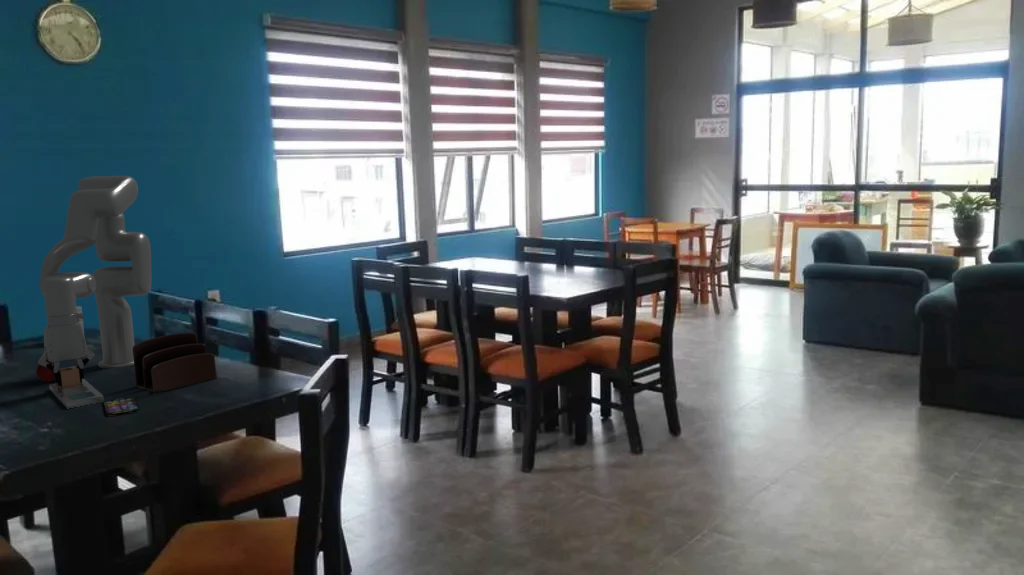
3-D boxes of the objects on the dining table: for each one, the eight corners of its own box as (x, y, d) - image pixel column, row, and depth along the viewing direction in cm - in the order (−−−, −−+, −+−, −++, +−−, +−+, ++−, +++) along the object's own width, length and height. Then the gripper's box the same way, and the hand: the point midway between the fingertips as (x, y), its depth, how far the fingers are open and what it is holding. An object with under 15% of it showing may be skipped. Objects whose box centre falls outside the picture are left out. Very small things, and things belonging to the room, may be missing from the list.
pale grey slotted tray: (84, 385, 241) (83, 378, 241) (104, 403, 222) (103, 395, 222) (50, 391, 236) (49, 384, 235) (67, 409, 217) (66, 402, 217)
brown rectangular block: (77, 386, 238) (75, 365, 237) (80, 389, 234) (78, 368, 233) (60, 389, 235) (57, 368, 234) (63, 392, 232) (60, 371, 231)
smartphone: (134, 396, 226) (139, 410, 213) (135, 399, 227) (140, 413, 214) (103, 400, 223) (106, 415, 210) (103, 404, 223) (106, 418, 210)
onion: (64, 381, 246) (61, 355, 245) (46, 386, 241) (43, 359, 240) (51, 379, 248) (48, 354, 247) (33, 384, 243) (30, 358, 242)
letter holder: (135, 389, 236) (130, 341, 234) (198, 374, 251) (195, 328, 249) (153, 394, 230) (149, 345, 228) (217, 379, 245) (213, 332, 243)
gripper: (92, 314, 240) (99, 375, 243) (26, 322, 229) (33, 386, 232) (98, 318, 234) (105, 380, 237) (30, 326, 224) (38, 392, 226)
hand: (69, 382), depth 234 cm, fingers closed on brown rectangular block, 4 cm apart
